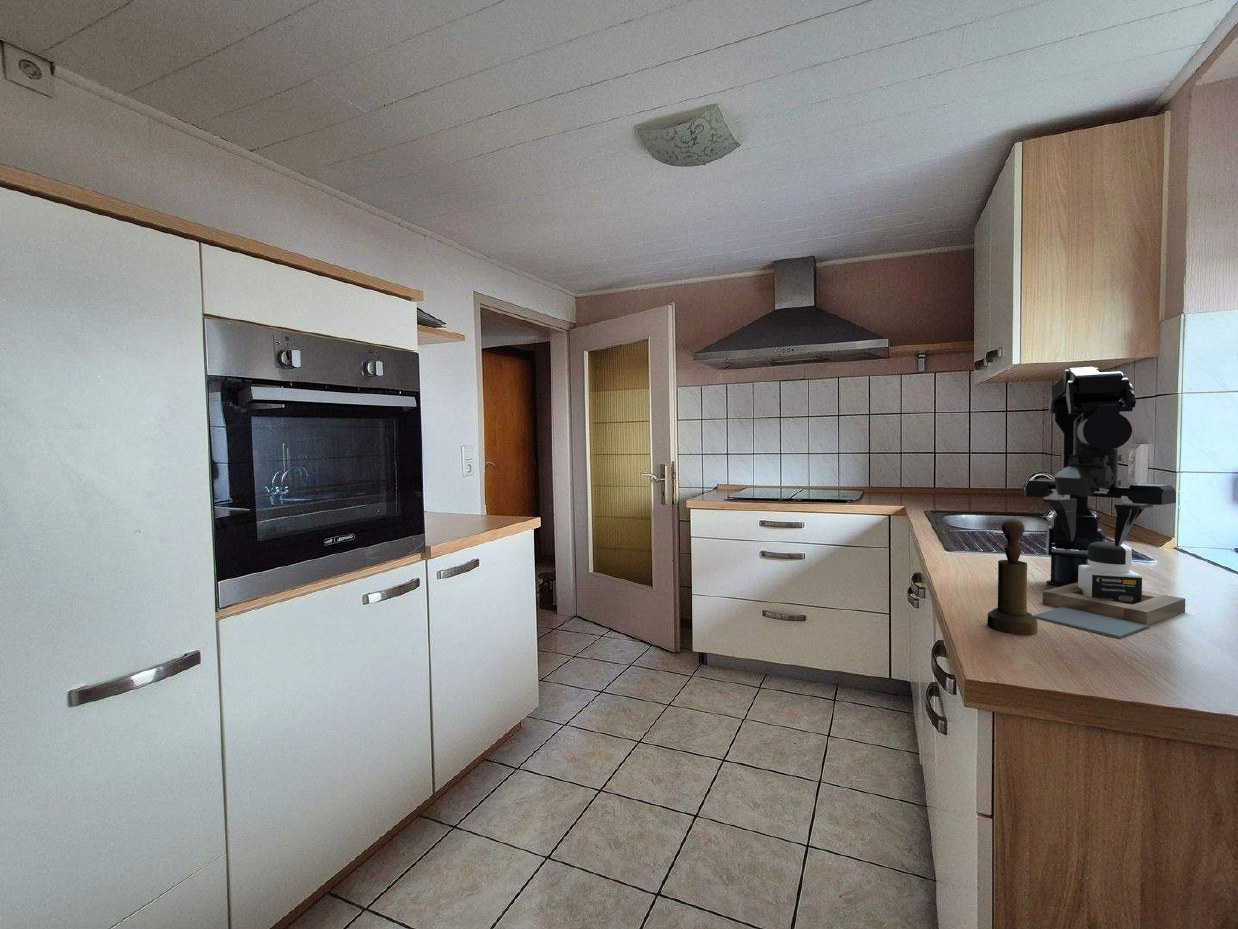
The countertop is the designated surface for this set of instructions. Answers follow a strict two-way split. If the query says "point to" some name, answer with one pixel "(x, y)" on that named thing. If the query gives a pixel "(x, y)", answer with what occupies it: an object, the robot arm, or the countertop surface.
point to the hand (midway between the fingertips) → (1093, 543)
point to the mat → (1092, 622)
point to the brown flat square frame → (1117, 605)
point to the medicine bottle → (1110, 574)
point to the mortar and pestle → (1012, 588)
